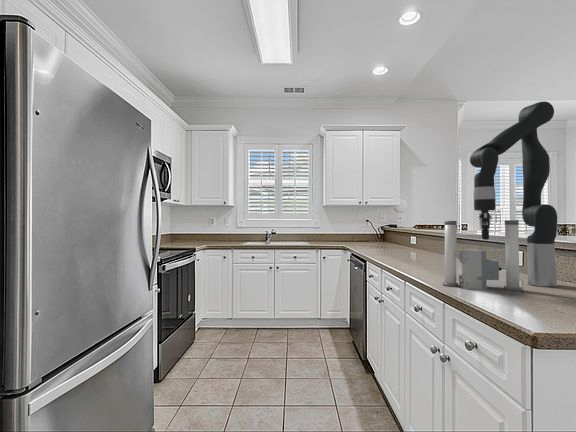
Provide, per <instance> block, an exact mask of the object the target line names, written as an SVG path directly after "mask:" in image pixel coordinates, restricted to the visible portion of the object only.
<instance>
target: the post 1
mask: <svg viewBox="0 0 576 432" xmlns="http://www.w3.org/2000/svg"><path fill="white" fill-rule="evenodd" d="M457 225H458V223H457V220H444V281H443V282H442V286H444V287H449V288H451V287H452V288H456V287H457V288H458V287H460V286H459V282H457Z"/></svg>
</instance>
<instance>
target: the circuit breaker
mask: <svg viewBox="0 0 576 432" xmlns="http://www.w3.org/2000/svg"><path fill="white" fill-rule="evenodd" d="M457 254H458V255H457V257H458V261H459V263H460V273H458V284H459V286H458V287H461V288H462V289H463V290H466V289H467V290H487V287H488V286H487V285H488V284H487V281H500V273H499V271H503V270H502V269H503V268H502V267H500V265H499V260H497V259H492V258H487V251H486V250H482V249H458V253H457Z"/></svg>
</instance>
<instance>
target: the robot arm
mask: <svg viewBox="0 0 576 432" xmlns="http://www.w3.org/2000/svg"><path fill="white" fill-rule="evenodd" d="M554 114H555V109H554V106H553V104H552V103H550V102H548V101H539V102H535V103H533V104H531V105H530V104H529V105H528V106H525V107H523V108H522V109H521V110H520V111H519V113H518V122H516V123H514V124H513V125H511V126H509V127H507V128H506V129H504V130H503V131H501V132H500V133H499V134H497V135H496V136H495V137H494V138H492V139H491V140H490V141H489V142H487V143H486V144H484V145H482V146H480V147H479V148H477V149H475V150H474V151H473V152H472V153H471V155H470V157H469V163H470V165H471V166H472V167H474V168H479V169H480V170H479V172H477V173H476V174H475V175H474V179H473V183H474V185H473V186H474V190H473V210H474V211H475V212H476V211H478V212H479V211H480V212H481V213H480V214H479V216H478V219H479V225H480V229H481V238H482V240H489V239H490V227H491V218H492V216H491V215H492V214H490V212H489V211H495V210H496V209H497V207H496V190H495V188H496V187H495V175H496V171H497V168H498V163H499V156H500V155H502V154H504V153H506V152H507V151H508V150H510V148H511V147H513V146H514V145H515V144H517V142H519V141H520V140H521V154H522V176H523V181H522V183H523V197H522V198H523V200H522V210H521V217H522V221H523V222H524V224H526V226H527V227H528V226H529V227H534V229H533V232H532V233H531V234H530V235H528V236H527V237H526V245H527V246H526V249H527V250H526V254H527V257H526V258H527V284H528V285H531V286H535V287H536V286H537V287H558V282H557V281H558V280H557V277H558V276H557V262H556V253H555V250H556V249H555V248H556V247H555V241H556V238H557V235H558V213H557V210H556V208H555V207H554V206H553V205H550V204H548V203H546V204H542V193H543V189H544V186H545V185H546V183H547V181H548V178H549V176H550V171H551V167H550V166H551V165H550V162H551V161H550V156H549V153H548V151H547V150H546V149H545V147H544V146H543V145H542V144H541V142H540V141H539V137H538V128H539V127H541V126H543V125H544V124H547V123H549V122H550V121H551V120H552V119H553V117H554Z"/></svg>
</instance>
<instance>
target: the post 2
mask: <svg viewBox="0 0 576 432" xmlns="http://www.w3.org/2000/svg"><path fill="white" fill-rule="evenodd" d="M504 239H505V241H504V242H505V243H504V244H505V248H504V249H505V252H504V253H505V285H504V286H503V290H505V291H509V292H522V291H523V287H522V286H520V243H519V242H520V240H519V219H518V220H517V219H516V220H515V219H512V220H511V219H510V220H509V219H507V220H504Z"/></svg>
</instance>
